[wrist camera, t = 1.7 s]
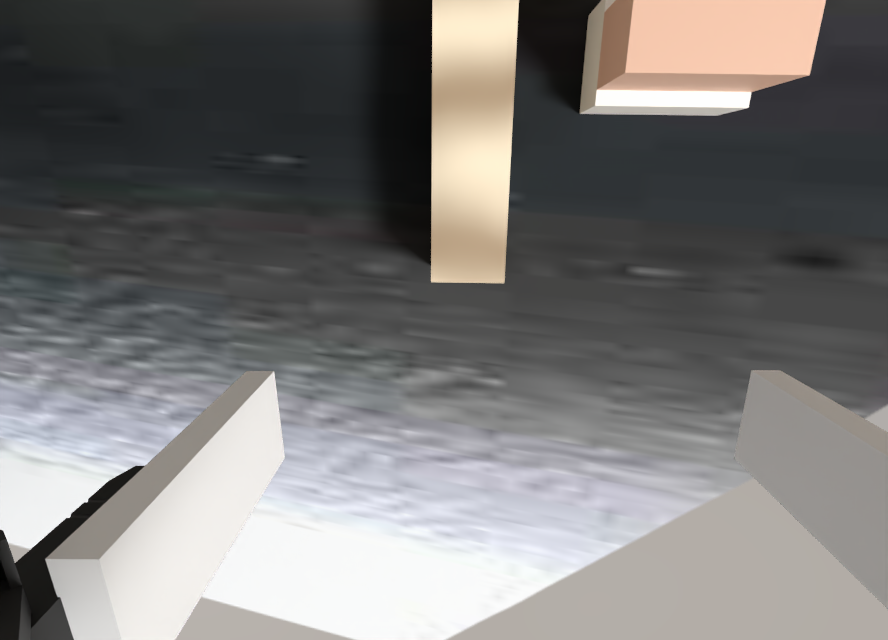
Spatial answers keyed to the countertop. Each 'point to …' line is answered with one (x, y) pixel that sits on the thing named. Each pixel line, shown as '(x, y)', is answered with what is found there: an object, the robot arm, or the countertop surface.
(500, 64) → the bar
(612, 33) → the block
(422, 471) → the countertop surface
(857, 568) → the robot arm
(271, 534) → the countertop surface
